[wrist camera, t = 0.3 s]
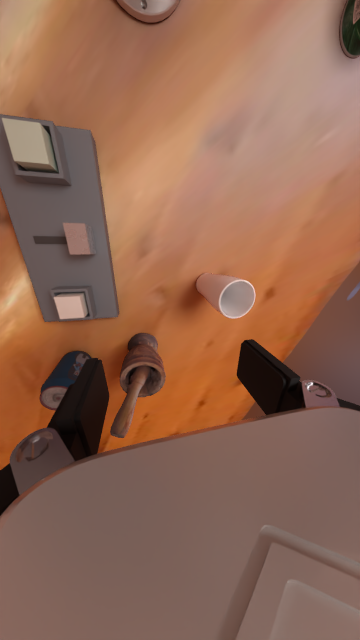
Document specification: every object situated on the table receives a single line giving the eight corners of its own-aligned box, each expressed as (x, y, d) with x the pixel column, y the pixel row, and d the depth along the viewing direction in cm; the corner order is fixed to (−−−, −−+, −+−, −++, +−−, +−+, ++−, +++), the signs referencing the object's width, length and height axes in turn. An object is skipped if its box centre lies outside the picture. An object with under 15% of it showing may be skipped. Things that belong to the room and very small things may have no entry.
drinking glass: (193, 299, 42) (219, 322, 28) (191, 271, 39) (217, 283, 26) (219, 294, 43) (255, 314, 29) (218, 267, 40) (257, 275, 27)
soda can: (63, 371, 42) (36, 413, 31) (63, 347, 40) (33, 383, 29) (94, 372, 44) (78, 412, 33) (95, 349, 42) (79, 384, 31)
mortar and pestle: (149, 370, 47) (154, 445, 29) (117, 364, 44) (102, 443, 26) (163, 335, 44) (179, 395, 26) (130, 327, 41) (123, 386, 23)
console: (-6, 129, 25) (-47, 96, 20) (95, 141, 28) (84, 115, 22) (51, 316, 37) (36, 328, 31) (119, 312, 39) (115, 322, 34)
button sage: (18, 133, 23) (1, 117, 20) (51, 137, 24) (39, 122, 21) (28, 170, 24) (14, 160, 22) (59, 173, 25) (49, 164, 22)
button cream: (61, 293, 31) (53, 297, 28) (84, 292, 32) (79, 296, 29) (66, 313, 33) (60, 319, 30) (89, 312, 33) (84, 317, 31)
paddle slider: (72, 226, 29) (62, 222, 25) (91, 226, 29) (84, 223, 26) (78, 253, 30) (69, 254, 27) (96, 253, 31) (90, 254, 27)
